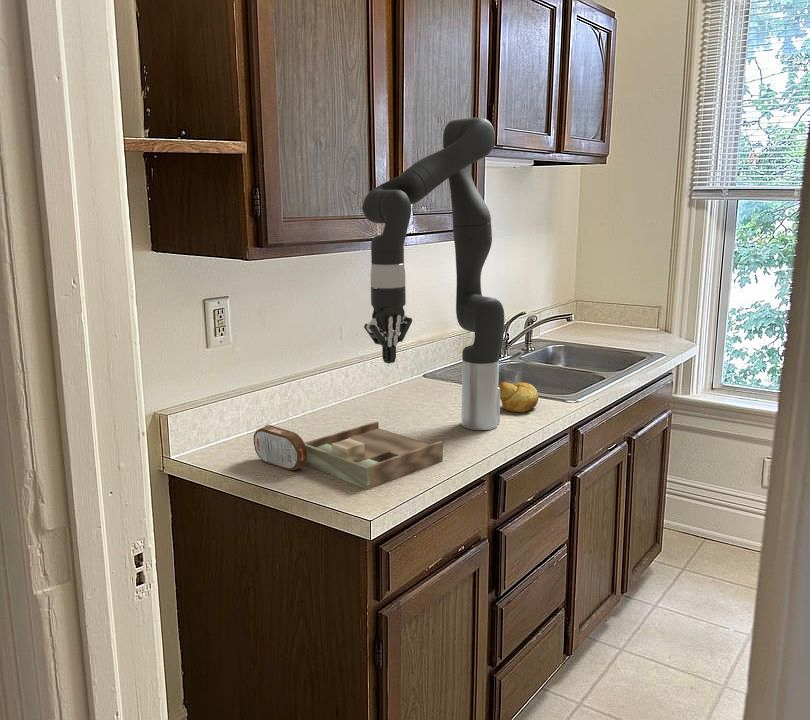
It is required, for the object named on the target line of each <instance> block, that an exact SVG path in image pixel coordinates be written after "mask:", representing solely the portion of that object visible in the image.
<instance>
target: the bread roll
mask: <svg viewBox="0 0 810 720" xmlns="http://www.w3.org/2000/svg"><path fill="white" fill-rule="evenodd" d="M498 387H499V388H500V402H501V405H502V407H503V409H504V410H506V411H507V412H512V413H524V412H526V411H529V410H532V409H533V408H535V407H537V404H538V401H539V392H538V390H537V389H536V387H534V386H533V384H531V383H527V382H521V381H520V382H515V383H510V382H507V381H503V382H499V383H498Z"/></svg>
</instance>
